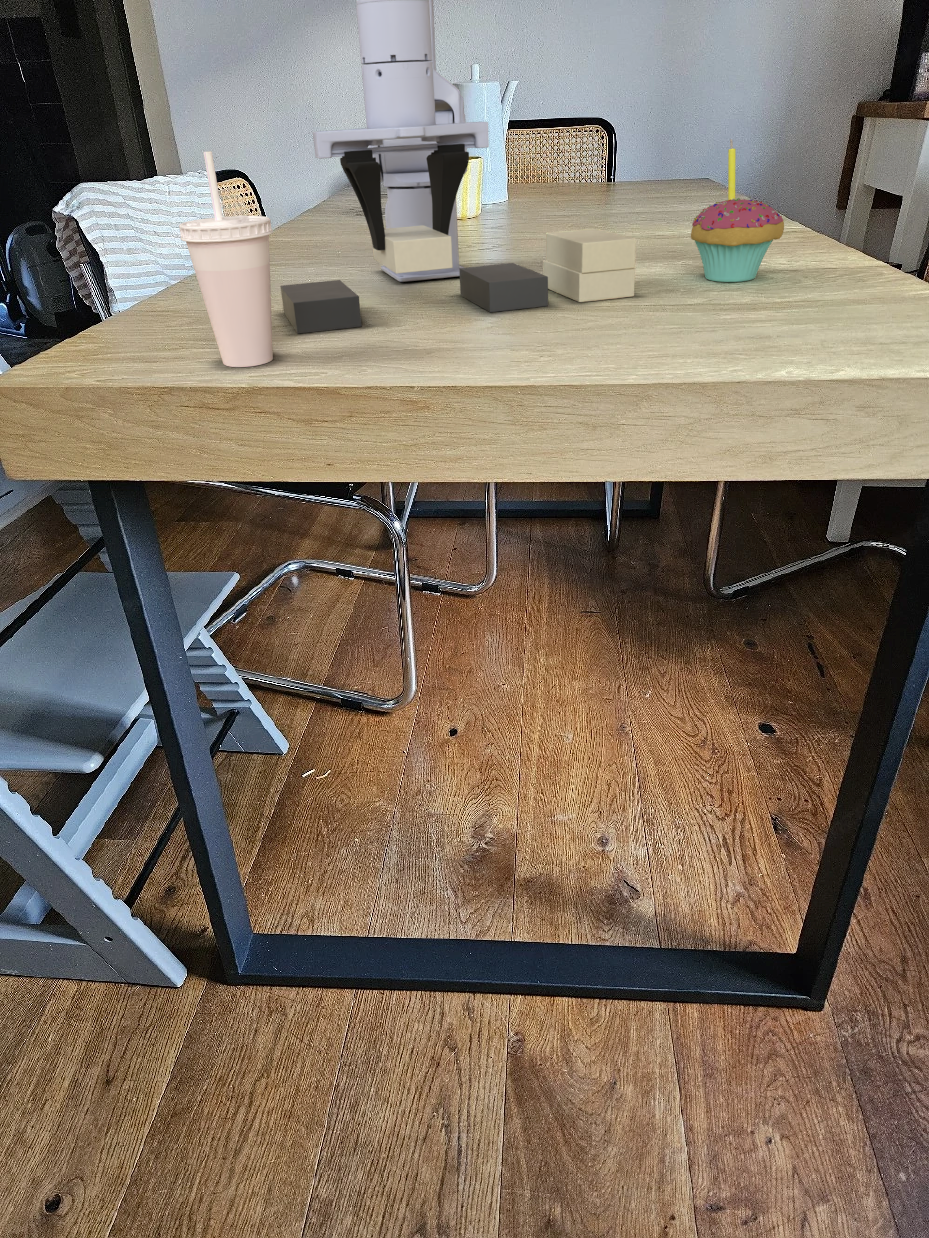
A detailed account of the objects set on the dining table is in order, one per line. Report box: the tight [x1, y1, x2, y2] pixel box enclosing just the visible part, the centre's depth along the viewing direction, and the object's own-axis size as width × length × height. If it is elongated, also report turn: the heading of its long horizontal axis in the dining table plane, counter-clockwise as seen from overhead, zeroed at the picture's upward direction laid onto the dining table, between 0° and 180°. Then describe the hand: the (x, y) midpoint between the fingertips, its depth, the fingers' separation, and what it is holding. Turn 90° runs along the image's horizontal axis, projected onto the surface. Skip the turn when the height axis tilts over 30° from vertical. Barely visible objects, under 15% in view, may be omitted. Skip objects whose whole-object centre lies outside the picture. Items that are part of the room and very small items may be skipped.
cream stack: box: [542, 227, 637, 303], centre depth 83 cm, size 9×6×5 cm, turn 17°
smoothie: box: [178, 150, 274, 368], centre depth 63 cm, size 6×6×14 cm
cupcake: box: [690, 138, 785, 283], centre depth 84 cm, size 9×8×12 cm
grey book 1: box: [279, 279, 363, 335], centre depth 78 cm, size 9×6×2 cm, turn 17°
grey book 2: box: [459, 262, 549, 313], centre depth 82 cm, size 9×6×2 cm, turn 17°
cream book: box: [371, 225, 453, 274], centre depth 78 cm, size 9×5×2 cm, turn 17°
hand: (409, 246), depth 78 cm, fingers closed on cream book, 5 cm apart
